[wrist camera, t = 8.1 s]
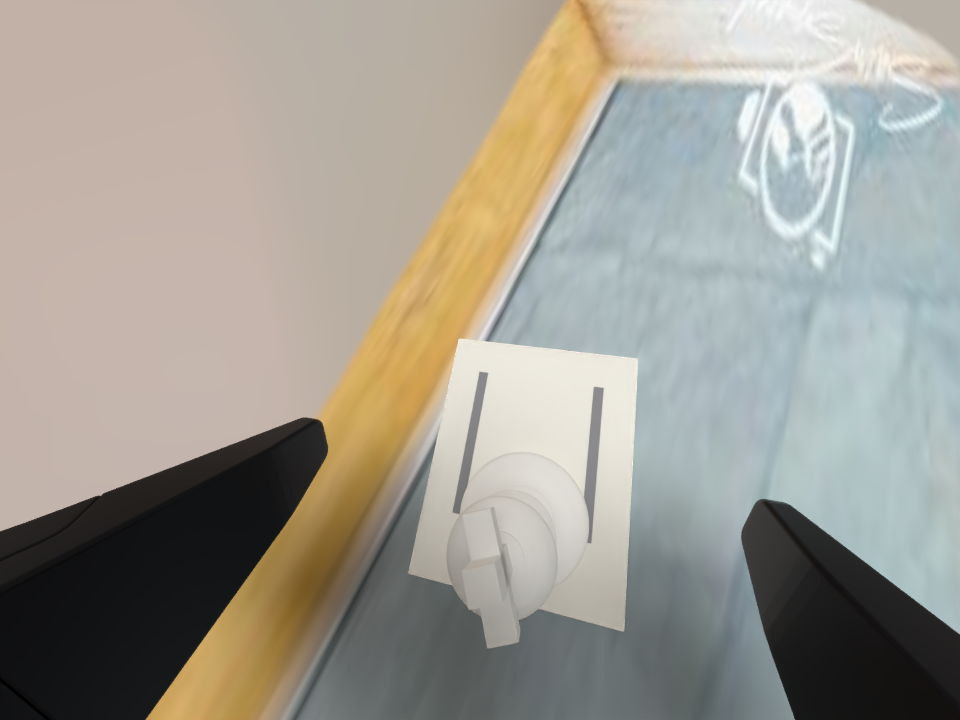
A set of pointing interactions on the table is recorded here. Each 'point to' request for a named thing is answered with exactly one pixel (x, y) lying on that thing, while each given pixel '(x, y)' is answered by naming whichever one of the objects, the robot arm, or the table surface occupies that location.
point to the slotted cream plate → (553, 434)
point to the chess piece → (515, 540)
